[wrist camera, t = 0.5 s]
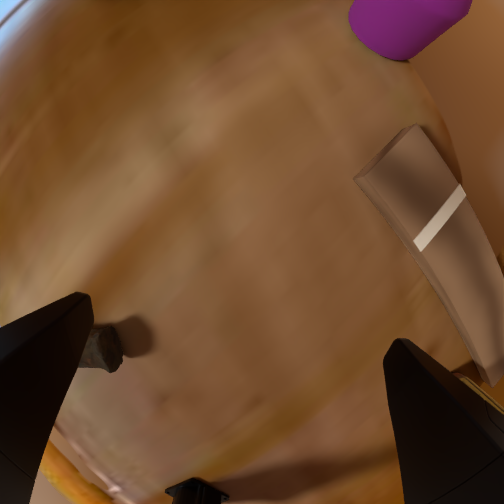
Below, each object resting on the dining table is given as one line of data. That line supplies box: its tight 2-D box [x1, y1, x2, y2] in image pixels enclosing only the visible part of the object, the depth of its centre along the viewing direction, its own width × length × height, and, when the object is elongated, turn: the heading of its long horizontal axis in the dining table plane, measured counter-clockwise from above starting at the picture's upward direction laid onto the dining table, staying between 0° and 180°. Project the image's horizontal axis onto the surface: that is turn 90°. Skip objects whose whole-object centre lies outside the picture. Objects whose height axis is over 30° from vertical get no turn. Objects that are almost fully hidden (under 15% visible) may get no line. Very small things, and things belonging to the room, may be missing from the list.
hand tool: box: [78, 326, 123, 373], centre depth 22 cm, size 19×4×5 cm, turn 96°
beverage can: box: [349, 0, 472, 60], centre depth 13 cm, size 8×8×12 cm
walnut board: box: [353, 123, 504, 388], centre depth 22 cm, size 7×32×3 cm, turn 44°
